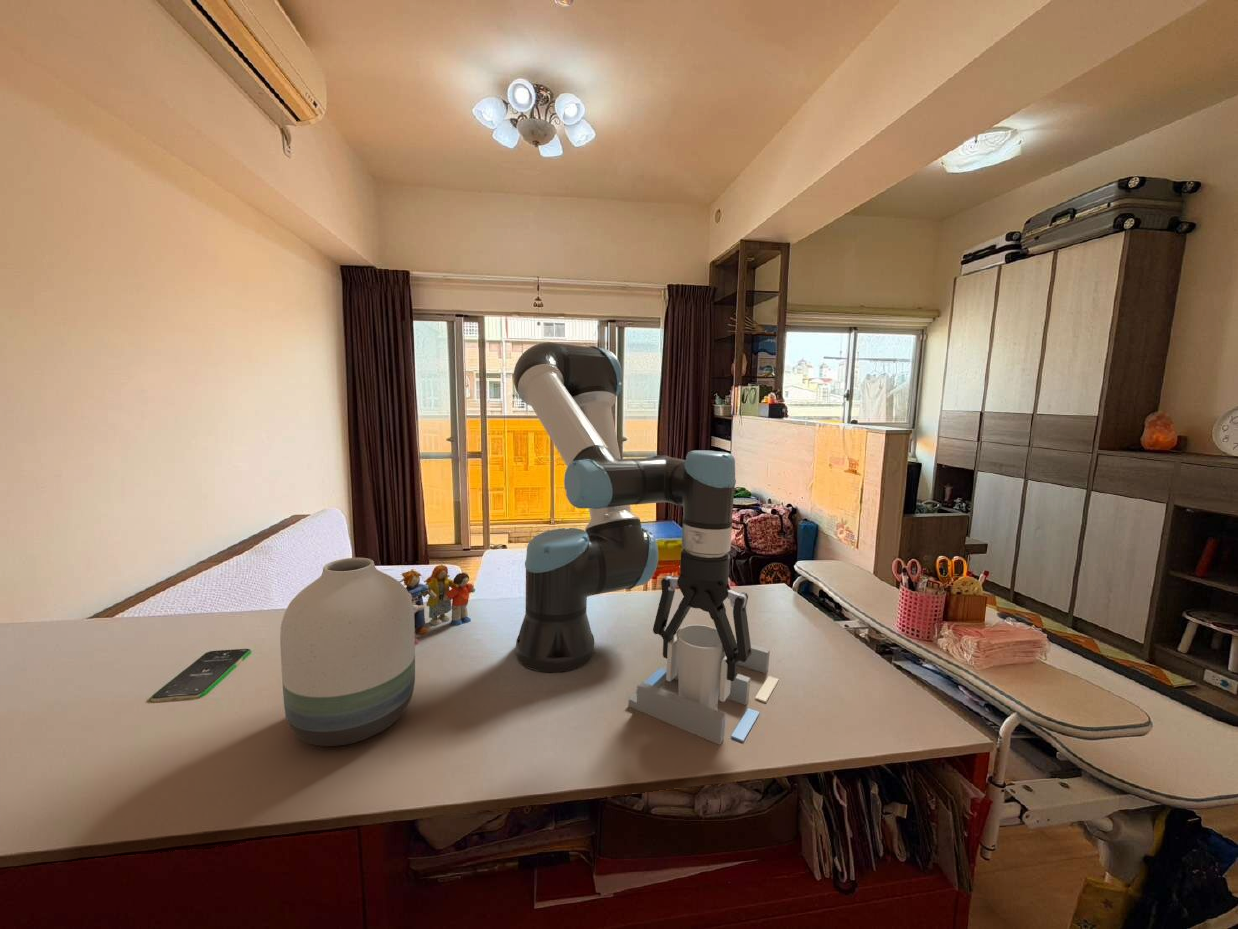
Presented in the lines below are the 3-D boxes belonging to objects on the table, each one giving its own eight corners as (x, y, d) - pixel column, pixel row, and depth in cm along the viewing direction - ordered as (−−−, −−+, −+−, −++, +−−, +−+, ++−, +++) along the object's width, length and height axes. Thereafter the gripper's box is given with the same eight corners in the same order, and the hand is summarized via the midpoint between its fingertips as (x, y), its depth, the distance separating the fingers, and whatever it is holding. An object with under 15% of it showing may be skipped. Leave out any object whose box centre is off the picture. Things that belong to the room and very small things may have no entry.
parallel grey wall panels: (628, 706, 77) (629, 682, 77) (691, 645, 98) (692, 626, 97) (737, 752, 68) (739, 726, 67) (782, 674, 88) (783, 653, 88)
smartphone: (145, 699, 74) (207, 650, 89) (145, 705, 74) (207, 655, 89) (202, 694, 76) (253, 647, 90) (202, 700, 76) (254, 652, 90)
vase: (325, 781, 60) (317, 596, 57) (262, 729, 69) (253, 567, 66) (439, 711, 75) (437, 560, 72) (375, 676, 83) (371, 541, 80)
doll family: (391, 657, 90) (389, 589, 88) (362, 642, 95) (360, 578, 93) (479, 617, 107) (479, 560, 106) (451, 606, 112) (450, 552, 111)
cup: (722, 726, 73) (727, 651, 72) (670, 717, 75) (674, 644, 73) (722, 695, 81) (727, 628, 80) (674, 688, 83) (678, 622, 81)
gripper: (634, 543, 77) (629, 675, 80) (767, 571, 66) (755, 724, 69) (656, 533, 84) (650, 656, 86) (781, 558, 72) (770, 698, 75)
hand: (697, 686), depth 78 cm, fingers open, 8 cm apart
